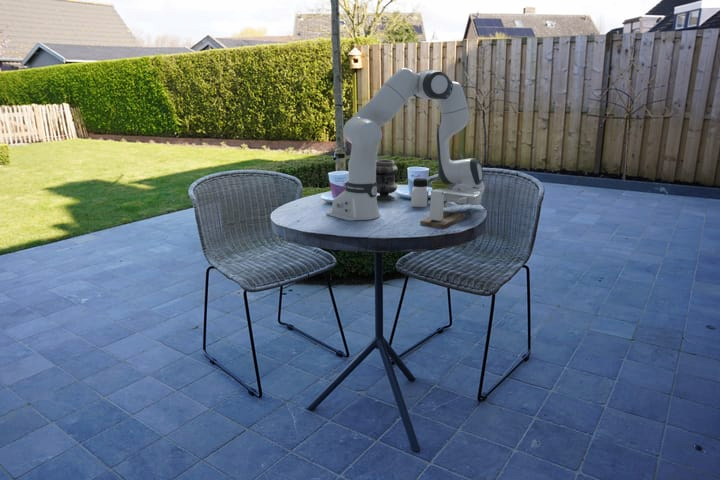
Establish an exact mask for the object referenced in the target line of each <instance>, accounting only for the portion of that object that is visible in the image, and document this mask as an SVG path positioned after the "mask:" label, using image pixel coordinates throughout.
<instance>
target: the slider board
mask: <svg viewBox="0 0 720 480" xmlns="http://www.w3.org/2000/svg"><path fill="white" fill-rule="evenodd" d="M464 219H466V214H465V213H459V212H453V211H448V210H447V211H445V210H443V219H442V220H440V221H437V220H431V219H430V216H428V217H426V218H424V219H422V220H420V221H419V222H420V223H419V225H421V226H426V227H432V228H438V229H442V230H443V229H446V228H449V226H453V225H454V224H456V223H458V222H459V221H460V222H461V221H462V220H464Z"/></svg>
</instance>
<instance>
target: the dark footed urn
mask: <svg viewBox="0 0 720 480" xmlns="http://www.w3.org/2000/svg"><path fill="white" fill-rule="evenodd" d="M397 172H398V167H397V165H395V160H392V159H377V160H376V181H377V194H378V195H376V196H377V202H378V201H380V202H388V201H389V202H390V201H394V200H395V197H394V196H392V195H391V194H393V193H394V192H396V191H397V189H398V185H397V183H396V182H395V181H396V177H395V176H396V173H397Z"/></svg>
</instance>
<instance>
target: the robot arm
mask: <svg viewBox="0 0 720 480" xmlns="http://www.w3.org/2000/svg"><path fill="white" fill-rule="evenodd" d="M412 96H414V97H416V98H418V99H422V100H423V99H424V100H435V101H436V102H437V104H438V106H439V112H440V117H441V119H440V125H438V127H437V129H436V143H437V144H436V145H437V146H436V147H437V160H438V167H437V176H438V179H439V181H442V182H443V183H444V184H446V185H449V184H451V185H453V184H455V185H454V186H453V187H452V188H451V189H450V188H449V189H435V190H442V191H444V201H447V202H450V203H454V204H456V205H458V206H464V205H471V206H478V205H481V204H482V199H483V194H484V192H485V186H486V185H485V183H484V181H483V179H484V169H483V166H482V164H481V163H480V161H478V160H477V158H475V157H471V158H462V159H457V160H456V159H455V160H452V159H451V155H450V140H451V138H452V137H453V136H454V135H456V134H457V133H459V132H461V131H462V130H464V128H465V127H466V126H467V125H468V123H469V121H470V109H469V106H468V102H467V98H466V95H465V92H464V89H463V88H462V84H460V83H459V82H457V81H454V80H453V81H452V80H451V79H450V78H449V76H448V75H447V73H445V72H443V71H442V70H438V69H434V70H432V69H426V70H422V71H418V72H414V71H413V70H412V69H410V68H407V67H401V68H399V69H398V70H397V71H396V72H394V73H393V74H392V75H391V76H390V77H389V78H388V79H387V80H386V81H385V82H384V84H382V86H381V87H380V88H379V89H378V91H377V92H376V93H375V94H374V95H373V97H372V98H371V99H370V100H369V101H367V103H366V104H364V105H363V106H362V107H361V108H360V109H359V110H358V111H357V112H356V113H354V115H353V116H352V117H351V118H350V119H348V120H347V121H346V122H345V124H344V126H343V129H342V130H343V135H344V137H345V139H346V141H347V142H348V143H350V144H351V148H350V156H349V160H348V162H347V163H348V164H347V165H348V167H347V168H348V169H347V170H348V172H347V174H348V178H347V179H348V181H347V182H345V183H343V185H342V186H343V187H345V189H344V190H343V191H342V192H341V193H340V194H339V195H337V196H336V197H335V198H334V199H333V200H332V205H331V209H328V210H327V211H326V215H328V216H331V217H334V218H338V219H340V220H341V219H342V220H345V221H349V222H351V221H364V220H365V221H367V220H368V221H369V220H374V219H378V218H379V217H380V216H381V213H380V210H379V206H378V200H377V196H378V195H377V194H378V193H377V181H376V160H378V159H377V158H378V154H379V149H380V143H381V142H382V138H383V131H382V127H383V126H384V125H386V124H387V123H388V122H390V121H391V120H393V118H394V117H395V116H396V115H397V114H398V112H400V111H401V109H402V108H403V107H404V105H405V104H406V103H407V102H408V100H409V99H410V98H411V97H412Z"/></svg>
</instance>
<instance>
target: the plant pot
mask: <svg viewBox="0 0 720 480" xmlns="http://www.w3.org/2000/svg"><path fill="white" fill-rule="evenodd" d="M430 184H431V185H430V186H431V191H432V190H435V189H450V188H451V185H452V184H449V185H446V184H444V183H443V182H442V181H441V180H434V181H431V182H430ZM447 202H448V201H444V203H447Z"/></svg>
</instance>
